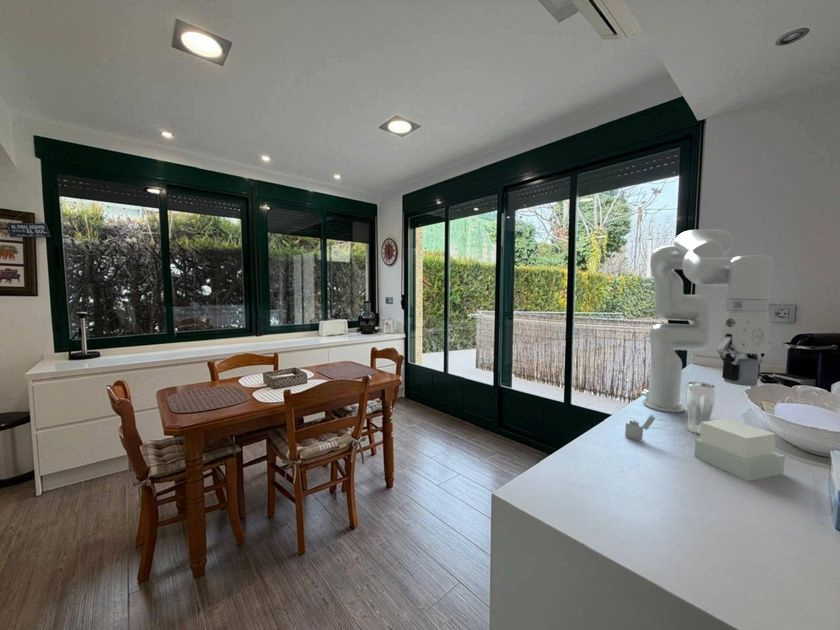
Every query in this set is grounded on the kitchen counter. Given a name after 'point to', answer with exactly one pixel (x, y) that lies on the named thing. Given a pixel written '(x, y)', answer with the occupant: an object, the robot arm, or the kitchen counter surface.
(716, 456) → the tower bottom block
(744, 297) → the robot arm
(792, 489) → the kitchen counter surface
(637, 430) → the lighter
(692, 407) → the beer glass
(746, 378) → the cylinder
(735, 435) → the tower top block
